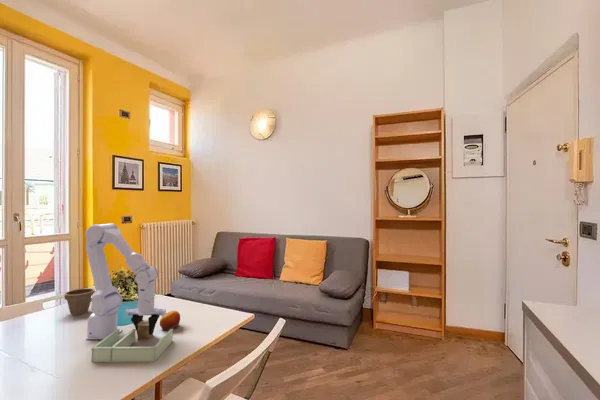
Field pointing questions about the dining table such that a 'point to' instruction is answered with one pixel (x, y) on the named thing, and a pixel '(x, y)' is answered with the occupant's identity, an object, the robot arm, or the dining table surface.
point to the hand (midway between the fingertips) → (145, 333)
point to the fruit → (170, 320)
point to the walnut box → (143, 330)
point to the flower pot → (79, 300)
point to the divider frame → (128, 348)
